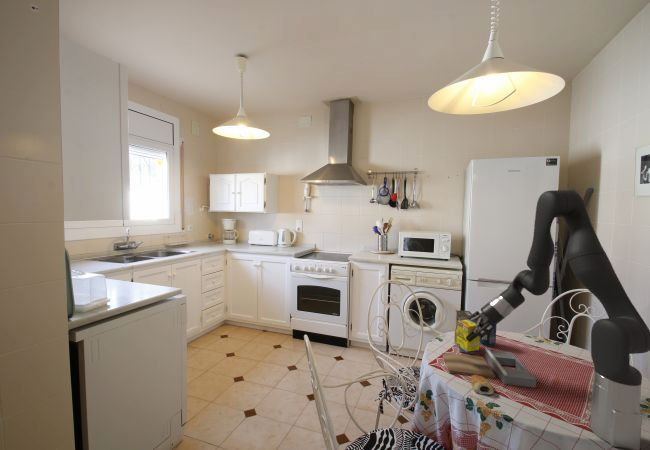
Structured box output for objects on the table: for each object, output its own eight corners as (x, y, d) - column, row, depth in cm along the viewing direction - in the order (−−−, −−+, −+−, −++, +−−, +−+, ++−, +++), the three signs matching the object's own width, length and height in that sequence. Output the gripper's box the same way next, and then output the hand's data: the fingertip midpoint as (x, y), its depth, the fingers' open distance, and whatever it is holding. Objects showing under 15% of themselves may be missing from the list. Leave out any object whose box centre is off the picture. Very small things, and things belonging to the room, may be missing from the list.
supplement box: (455, 346, 117) (457, 320, 117) (467, 344, 119) (468, 319, 118) (467, 353, 112) (468, 326, 111) (479, 351, 113) (480, 324, 113)
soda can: (482, 339, 140) (483, 315, 139) (497, 344, 135) (499, 319, 134) (476, 343, 136) (477, 318, 135) (492, 349, 130) (493, 323, 130)
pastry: (466, 378, 107) (467, 368, 107) (486, 381, 106) (486, 371, 106) (474, 394, 98) (475, 383, 98) (496, 397, 97) (496, 386, 96)
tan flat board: (495, 378, 107) (495, 375, 107) (449, 372, 110) (449, 370, 110) (482, 359, 121) (482, 357, 121) (442, 355, 124) (442, 352, 124)
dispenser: (535, 387, 102) (536, 376, 102) (503, 383, 104) (503, 372, 104) (511, 359, 121) (511, 349, 121) (484, 356, 123) (484, 346, 123)
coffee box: (474, 353, 125) (476, 317, 125) (458, 352, 127) (460, 316, 126) (468, 344, 134) (469, 310, 134) (453, 342, 136) (455, 309, 135)
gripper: (483, 296, 120) (453, 321, 123) (497, 308, 106) (462, 335, 109) (497, 310, 119) (466, 334, 122) (512, 323, 105) (477, 350, 108)
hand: (464, 335), depth 115 cm, fingers closed on supplement box, 8 cm apart
